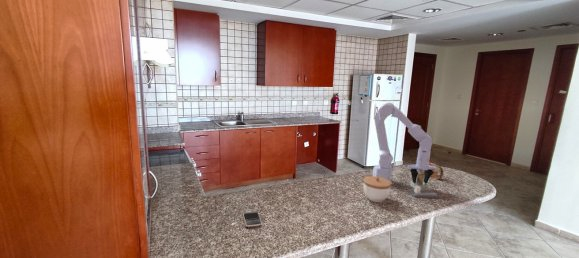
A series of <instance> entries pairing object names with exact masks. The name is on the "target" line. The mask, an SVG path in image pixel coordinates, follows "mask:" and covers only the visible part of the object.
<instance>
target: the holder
mask: <svg viewBox="0 0 579 258" xmlns="http://www.w3.org/2000/svg"><path fill="white" fill-rule="evenodd" d="M416 183H417V180H416ZM416 183H413V180H411V181H410V186H411V188H412V189H414V188H415V186H419V187H421V189H429V185H428V183H427V184H426V183H424V181H423V185H417V184H416Z"/></svg>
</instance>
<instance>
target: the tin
mask: <svg viewBox="0 0 579 258" xmlns="http://www.w3.org/2000/svg"><path fill="white" fill-rule="evenodd" d="M429 166H435V167H437V168H436V171H434V170H432V171H433V172H434V173H433V174H432V175H431V177H430V178H433V179H435V180H439V179H441V178H443V176H444V169H443V168H442V166H440V165H438V164H436V163H432V162H430V161H429ZM418 172H419V173H423V174H424V170H418Z"/></svg>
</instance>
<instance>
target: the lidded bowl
mask: <svg viewBox="0 0 579 258" xmlns="http://www.w3.org/2000/svg"><path fill="white" fill-rule="evenodd" d="M391 182H392V181H391ZM391 182H390V181H389V180H387V179H385V178H382V177H376V176H373V175H371V176H366V177H364V178H363V192H364V194H365V196H366V197H367V199H368V200H370V201H371V202H375V203H381V202H384V200H386V199H387V198H388V197H389V195H390V193H391V189H392V184H391Z"/></svg>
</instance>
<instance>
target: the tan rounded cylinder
mask: <svg viewBox="0 0 579 258" xmlns="http://www.w3.org/2000/svg"><path fill="white" fill-rule="evenodd" d="M416 181H417V183H416V184H417V185H423V182H424V174H423V173H420V172H418V175H417V179H416Z"/></svg>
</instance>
